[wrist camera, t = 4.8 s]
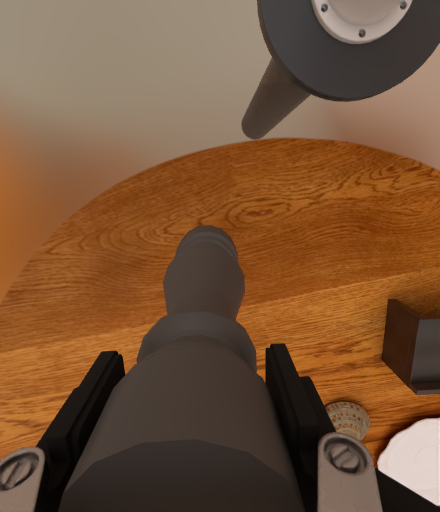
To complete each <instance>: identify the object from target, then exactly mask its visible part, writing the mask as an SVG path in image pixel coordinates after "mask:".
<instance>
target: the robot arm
mask: <svg viewBox="0 0 440 512" xmlns="http://www.w3.org/2000/svg"><path fill="white" fill-rule="evenodd" d="M411 2H412V0H311V3H312V6H313V9H314V13H315V15H316V17H317V19H318V21H319V23H320V24H321V26H322V27H323V28H324V29H325V31H326V32H328V33H329V34H330V35H331V36H332V37H334V38H336V39H338V40H339V41H341V42H345V43H349V44H364V43H369V42H372V41H374V40H376V39H379V38H380V37H382V36H383V35H385V34H386V33H388V32H389V31H390V30H391V29H392V28H393V27H394V26H396V25H397V23H398V22H399V21H400V20H401V19H402V18H403V17H404V15H405V13H406V12H407V10H408V9H409V7H410V5H411ZM321 10H323V12H322V11H321ZM359 35H360V36H359ZM124 376H125V370H124V363H123V357H122V355H121V354H118V352H117V351H103V352H101V353H100V355H99V356H98V358H97V359H96V361H95V362H94V364H93V365H92V367H91V368H90V370H89V372H88V373H87V375H86V376H85V378H84V379H83V381H82V382H81V384H80V385H79V387H77V388H75V389H74V390H73V391H72V393H71V394H70V396H69V397H68V399H67V400H66V402H65V403H64V405H63V406H62V408H61V409H60V411H59V412H58V414H57V415H56V417H55V418H54V420H53V421H52V423H51V424H50V426H49V427H48V429H47V430H46V432H45V433H44V435H43V436H42V438H41V440H40V441H39V443H38V444H37V446H36V447H27V448H22V449H20V450H17V451H15V452H13V453H11V454H9V455H8V456H6V457H4V458H3V459H2V460H1V461H0V512H58V510H59V507H60V503H61V499H62V495H63V493H64V491H65V488H66V486H67V484H68V482H69V480H70V478H71V476H72V474H73V472H74V470H75V468H76V465H77V463H78V461H79V459H80V457H81V455H82V453H83V451H84V449H85V447H86V444H87V442H88V440H89V438H90V436H91V434H92V432H93V430H94V428H95V426H96V424H97V421H98V419H99V417H100V415H101V413H102V411H103V409H104V407H105V405H106V403H107V401H108V398H109V396H110V394H111V392H112V390H113V388H114V387H115V386H116V385H117V384H118V383H119V381H120V380H121V379H122V378H123V377H124ZM265 384H266V386H267V388H268V390H269V392H270V393H271V395H272V397H273V399H274V401H275V403H276V406H277V409H278V413H279V417H280V420H281V424H282V428H283V431H284V435H285V438H286V442H287V446H288V449H289V453H290V457H291V460H292V464H293V468H294V471H295V475H296V478H297V482H298V486H299V489H300V493H301V497H302V500H303V504H304V508H305V511H306V512H440V507H439V506H437V505H435V504H434V503H432V502H430V501H429V500H427V499H425V498H424V497H422V496H420V495H419V494H417V493H415V492H414V491H412V490H411V489H409V488H407V487H406V486H404V485H402V484H401V483H399V482H397V481H396V480H394V479H392V478H391V477H389V476H387V475H386V474H384V473H382V472H381V471H379V470H378V469H376V468H374V462H373V459H372V456H371V453H370V452H369V451H368V449H367V448H366V446H365V445H364V444H362V443H361V442H360V441H359V440H358V439H356V438H354V437H352V436H351V435H348V434H345V433H340V432H337V431H336V429H335V427H334V425H333V423H332V421H331V419H330V417H329V415H328V413H327V411H326V409H325V407H324V405H323V403H322V400H321V398H320V396H319V394H318V392H317V390H316V388H315V386H314V384H313V382H312V380H311V378H310V377H309V376H307V377H299V375H298V373H297V371H296V368H295V366H294V364H293V361H292V359H291V357H290V354H289V352H288V350H287V347H286V345H285V344H284V343H281V344H271V345H270V348H266V380H265Z"/></svg>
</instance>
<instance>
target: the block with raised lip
mask: <svg viewBox="0 0 440 512" xmlns="http://www.w3.org/2000/svg"><path fill="white" fill-rule="evenodd" d="M382 360H383V361H384V362H385V364H386V365H387V366H388V367H389V368H390V369H391V370H392V371H393V372H394V373H395V374H396V375H397V376H398V377H399V378H400V379H401V380H402V381H403V382H404V383H405V384H406V385H407V386H408V387H409V388H410V389H411V390H412V391H413V392H414V393H415V394H416V395H429V394H440V315H420V314H419V313H417V312H415V311H414V310H412V309H411V308H409V307H408V306H406V305H404V304H403V303H401V302H400V301H398V300H396V299H389V300H388V308H387V317H386V326H385V335H384V343H383V352H382Z"/></svg>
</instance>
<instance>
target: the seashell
mask: <svg viewBox="0 0 440 512" xmlns="http://www.w3.org/2000/svg"><path fill="white" fill-rule="evenodd" d="M325 409H326V411H327V413H328V415H329V417H330V419H331V421H332V423H333V425H334V427H335V429H336V431H337V432H340V433H345V434H348V435H351V436H352V437H354V438H356V439H358V440H359V441H360V440H361V439H363V438H364V436H365V435H366V433H367V431H368V429H369V427H370V418H369V416H368V413H367V412H366V411H365V409H363V408H362V407H361V406H359V405H357V404H355V403H351V402H335V403H332V404H329V405H327V406H326V407H325Z"/></svg>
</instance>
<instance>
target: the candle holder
mask: <svg viewBox="0 0 440 512" xmlns="http://www.w3.org/2000/svg"><path fill="white" fill-rule="evenodd" d="M163 285H164V293H165V300H166V306H167V313H168V315H167V316H165V317H163V318H161V319H159V321H158V322H157V323H156V324H155V325H154V326H153V327H152V328H151V329H150V331H149V332H148V333H147V334H146V335H145V336H144V338H143V341H142V344H141V347H140V350H139V354H138V357H137V364H136V365H134V366H133V367H132V368H131V370H130V371H129V372H128V373H127V374H126V375H125V376H124V377H123V378H122V379H121V380H120V381H119V383H118V384H117V385H116V386H115V387H114V388H113V390H112V392H111V394H110V396H109V398H108V401H107V403H106V405H105V407H104V409H103V411H102V413H101V415H100V417H99V419H98V421H97V424H96V426H95V428H94V430H93V432H92V434H91V436H90V438H89V440H88V442H87V444H86V447H85V449H84V451H83V453H82V455H81V457H80V459H79V461H78V463H77V465H76V468H75V470H74V472H73V474H72V476H71V478H70V480H69V482H68V484H67V486H66V488H65V491H64V493H63V495H62V499H61V503H60V507H59V510H58V512H306V511H305V508H304V504H303V500H302V497H301V493H300V489H299V486H298V482H297V478H296V475H295V471H294V468H293V464H292V460H291V457H290V453H289V449H288V446H287V442H286V438H285V435H284V431H283V428H282V424H281V420H280V417H279V413H278V409H277V406H276V403H275V401H274V399H273V397H272V395H271V393H270V392H269V390H268V388H267V386H266V384H265V382H264V380H263V378H262V377H260V376H259V375H258V374H257V366H256V350H255V347H254V345H253V343H252V341H251V339H250V337H249V336H248V334H247V332H246V330H245V328H244V327H243V326H241V325H240V324H239V323H238V322H236V321H235V320H236V317H237V314H238V311H239V308H240V305H241V302H242V299H243V296H244V293H245V284H244V275H243V272H242V270H241V268H240V266H239V264H238V254H237V251H236V247H235V245H234V243H233V241H232V239H231V237H230V236H229V235H228V234H227V233H226V232H225V231H223V230H222V229H220V228H217V227H214V226H211V225H209V226H199V227H197V228H195V229H192V230H190V231H189V232H188V233H187V234H186V235H185V236H184V238H183V239H182V240H181V242H180V244H179V246H178V248H177V252H176V255H175V258H174V260H173V261H172V262H171V263H170V265H169V266H168V268H167V271H166V275H165V278H164V281H163Z"/></svg>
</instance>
